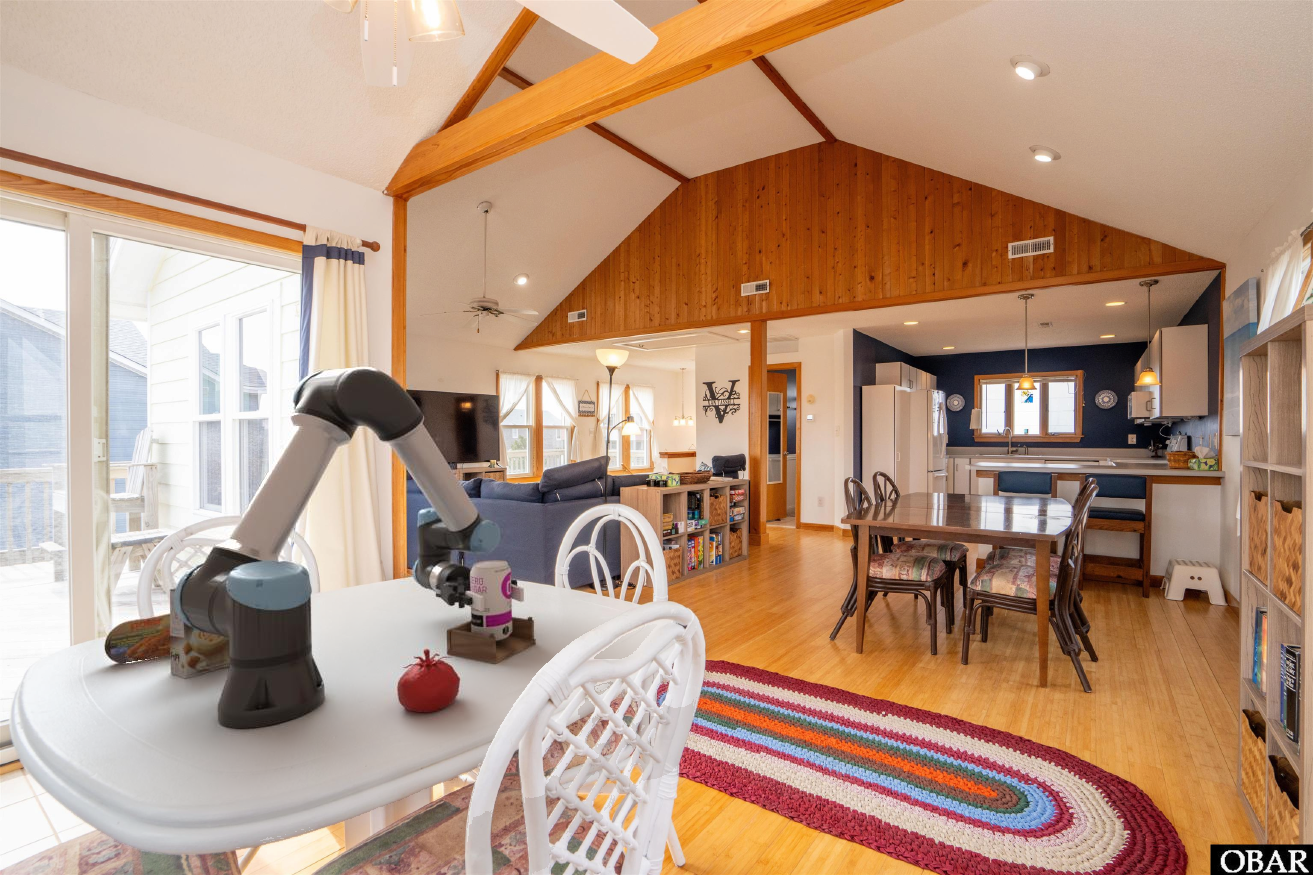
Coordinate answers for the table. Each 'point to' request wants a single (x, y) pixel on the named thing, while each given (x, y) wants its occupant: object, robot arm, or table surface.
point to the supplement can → (492, 598)
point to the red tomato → (428, 685)
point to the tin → (139, 639)
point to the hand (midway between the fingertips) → (502, 599)
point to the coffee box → (194, 648)
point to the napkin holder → (490, 642)
